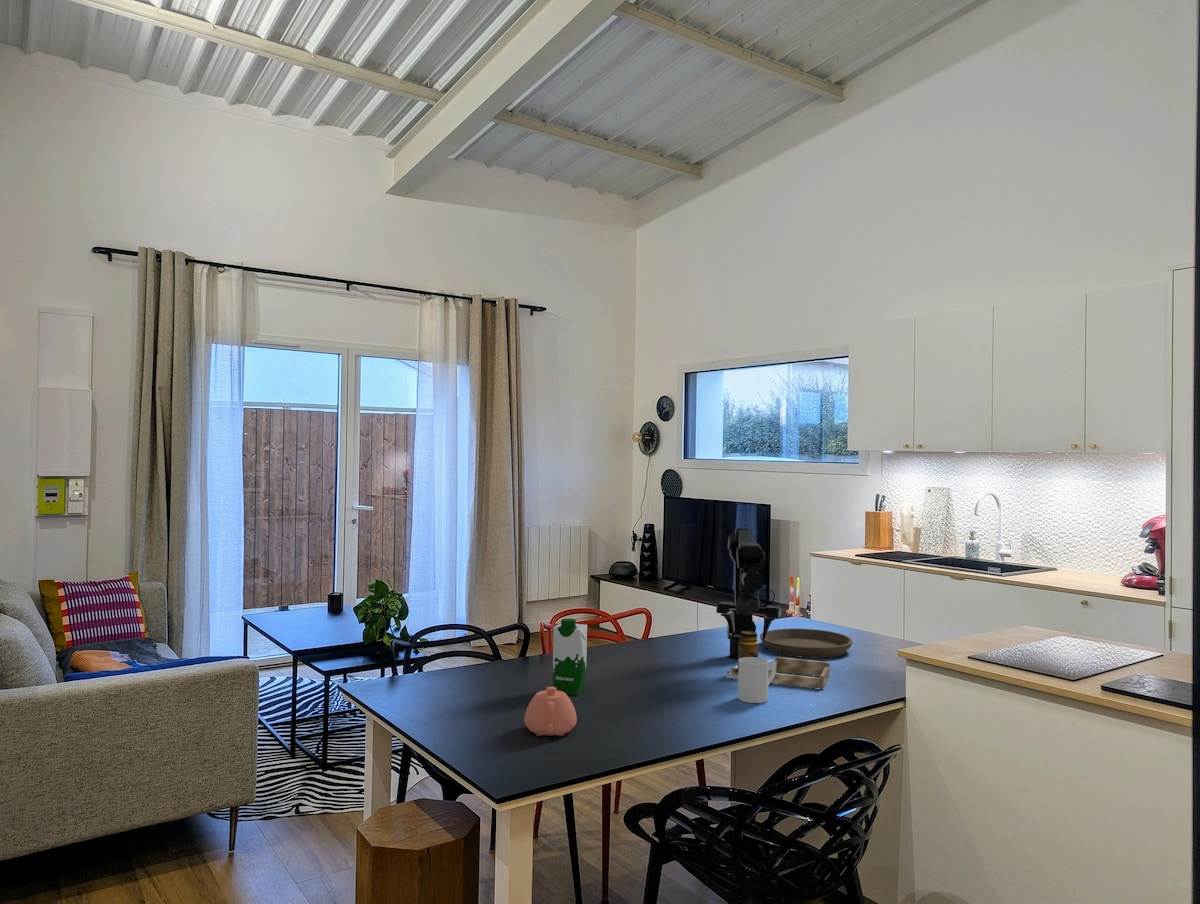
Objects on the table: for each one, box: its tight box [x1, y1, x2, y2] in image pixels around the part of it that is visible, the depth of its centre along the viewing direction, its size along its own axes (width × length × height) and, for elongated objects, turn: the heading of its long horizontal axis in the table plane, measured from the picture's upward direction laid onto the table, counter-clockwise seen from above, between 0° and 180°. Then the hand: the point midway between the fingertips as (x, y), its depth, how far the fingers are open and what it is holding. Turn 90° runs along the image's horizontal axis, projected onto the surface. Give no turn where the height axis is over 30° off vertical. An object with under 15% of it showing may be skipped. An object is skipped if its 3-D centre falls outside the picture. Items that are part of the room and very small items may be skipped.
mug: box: [737, 657, 776, 704], centre depth 220 cm, size 12×8×10 cm, turn 125°
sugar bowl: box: [523, 686, 578, 737], centre depth 190 cm, size 12×14×10 cm
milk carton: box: [552, 618, 588, 697], centre depth 224 cm, size 9×9×20 cm
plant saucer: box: [759, 627, 854, 658], centre depth 281 cm, size 31×31×5 cm
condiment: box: [728, 631, 759, 675], centre depth 246 cm, size 7×8×12 cm
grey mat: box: [725, 665, 739, 680], centre depth 246 cm, size 10×14×1 cm
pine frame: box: [768, 656, 831, 690], centre depth 240 cm, size 16×15×4 cm
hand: (748, 638), depth 246 cm, fingers open, 9 cm apart
